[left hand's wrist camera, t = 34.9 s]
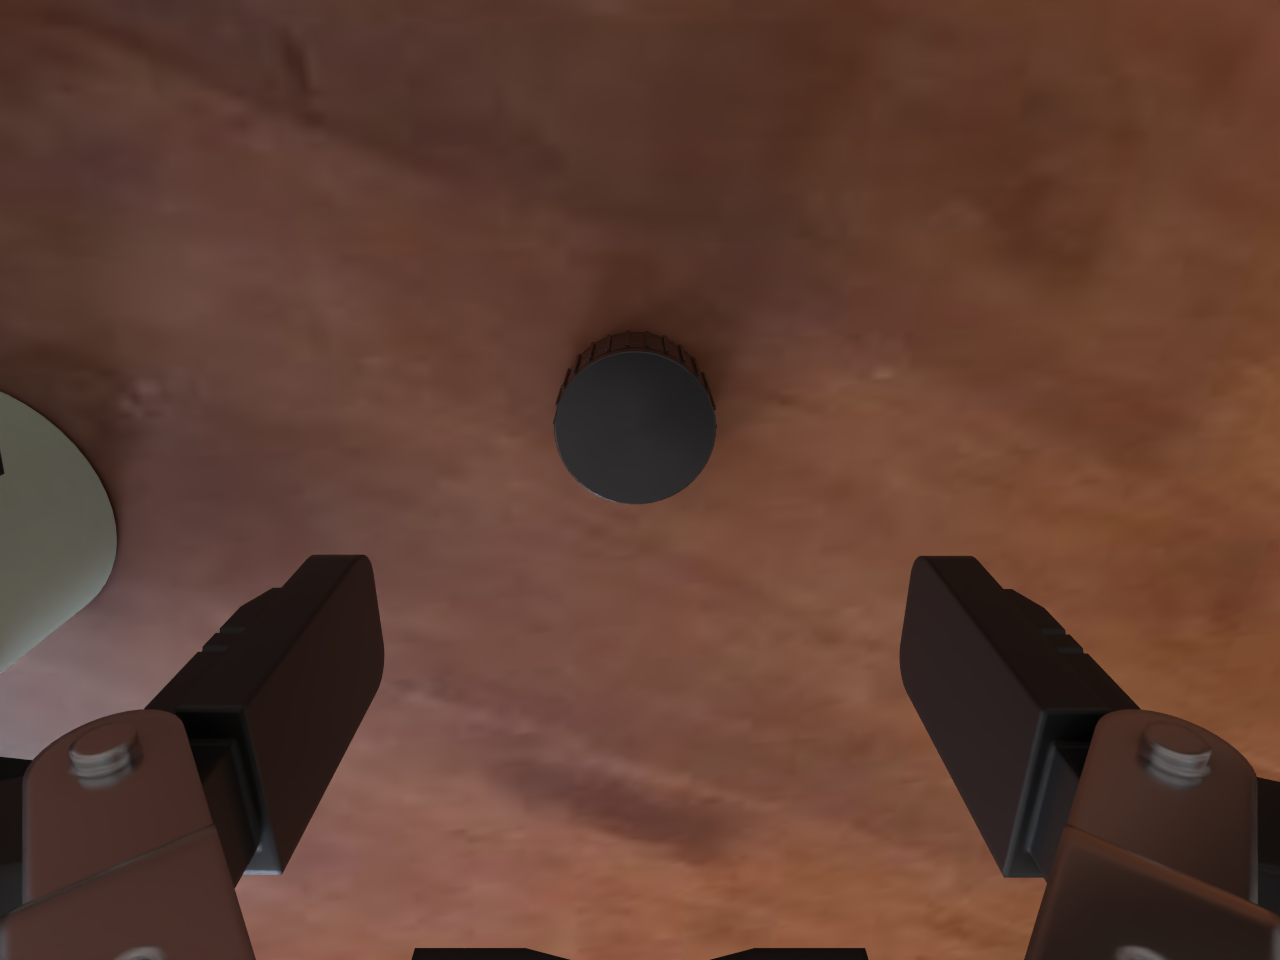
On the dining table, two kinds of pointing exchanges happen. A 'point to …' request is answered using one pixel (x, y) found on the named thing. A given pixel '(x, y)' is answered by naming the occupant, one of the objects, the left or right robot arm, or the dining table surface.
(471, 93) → the dining table surface
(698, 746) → the dining table surface
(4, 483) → the bottle
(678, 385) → the cap
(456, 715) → the dining table surface
